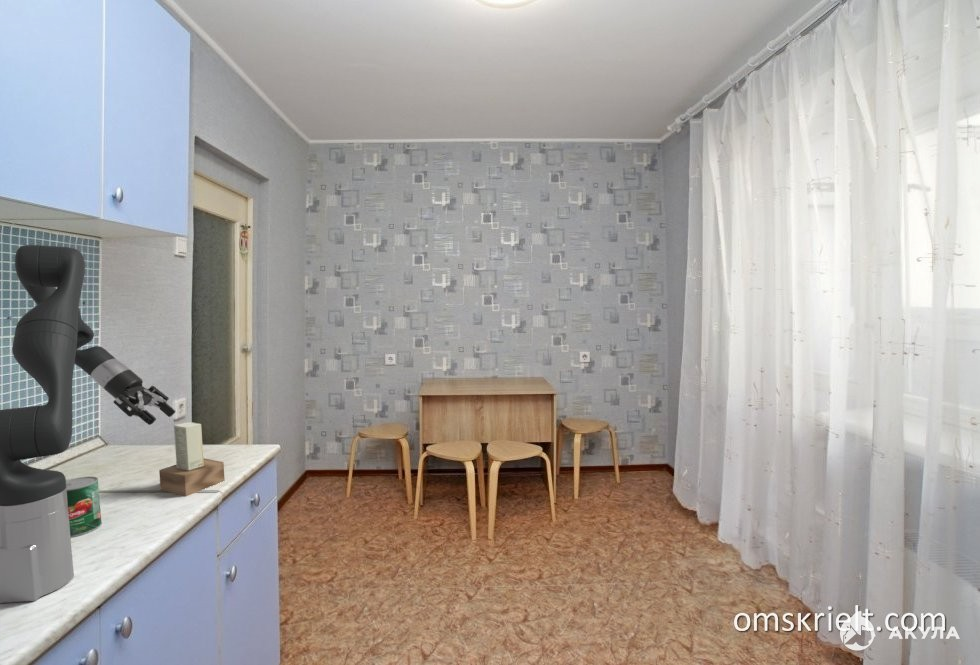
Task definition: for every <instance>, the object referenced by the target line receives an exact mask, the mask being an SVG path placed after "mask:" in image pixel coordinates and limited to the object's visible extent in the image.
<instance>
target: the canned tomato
mask: <svg viewBox="0 0 980 665" xmlns="http://www.w3.org/2000/svg"><path fill="white" fill-rule="evenodd" d="M99 486H100V485H99V477H97V476H81V477H76V478H75V477H74V478H72V479H67V480H66V489H67V501H68V514H69V525H70V537H71V538H77V537H79V536H83V535H86V534H89V533H92V532H94V531H96V530H97V529H99V528H101V527H102V524H103V522H102V514H101V511H102V510H101V501H100V488H99Z"/></svg>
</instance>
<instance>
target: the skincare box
mask: <svg viewBox="0 0 980 665" xmlns="http://www.w3.org/2000/svg"><path fill="white" fill-rule="evenodd" d="M202 429H203V428H202V423H198V422H191V421H188V422H184V423H183V422H182V423H178V424H174V425H173V430H174V431H173V432H174V446H175V447H174V449H175V459H176V460H175V461H176V462H175V463H176V464H177V468H180V469H184V470H188V471H189V470H193V469H196V468H199V467H202V466H204V460H203V458H204V448H203V447H204V446H203V433H202ZM176 464H175V465H176Z"/></svg>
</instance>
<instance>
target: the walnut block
mask: <svg viewBox="0 0 980 665" xmlns="http://www.w3.org/2000/svg"><path fill="white" fill-rule="evenodd" d="M203 460H204V466H202V467H199V468H196V469H193V470H189V471H188V470H184V469H180V468H177V464H174V465H170V466H168V467H164V468H161V469H159V472H158V473H159V487H160V489H159V490H160V491H164V492H166V493H167V492H168V493H171V494H175V495H178V496H183V497H188V496H191V495H193V494H196V493H198V492H201V491H203V490H206V489H209V488H211V487H213V485H214V486H216V485H219V484H221V483H223V481H224V482H225V466H224V465H225V463H224V461H219V460H215V459H210V458H205V457H203ZM220 482H221V483H220ZM218 483H219V484H218ZM210 486H211V487H210ZM205 488H206V489H205Z"/></svg>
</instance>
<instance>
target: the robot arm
mask: <svg viewBox="0 0 980 665" xmlns="http://www.w3.org/2000/svg"><path fill="white" fill-rule="evenodd" d="M14 266H15V267H14V268H15V273H16V276H17V278H18V280H19V282H20V283H21V285H22V286H23V288H24V289H25V291H26V292H27V293H28V295H29V296H30V298H31V299H32V300H33V301H34V303H35V304H36V305H34V307H33V308H30V310H29V311H27V312H25V314H24V315H23V316H21V318H20V319H19V320H18V322H17V323H16V326H15V330H14V336H13V342H12V350H11V352H12V356H13V357H14V359H15V360H16V362H17V363H18V365H19V366H20V367H21V368H22V369H23V370H24V371H25V372H26V373H27V374H28V375H30V377H32V379H34V381H36V382H37V384H39V386H40V387H41V389H42V390H43V391H44V393H45V394H46V395H47V399H48V400H47V403H46V404H43V405H41V404H40V405H33V406H23V407H13V408H5V409H4V408H3V409H0V604H3V603H5V604H6V603H19V602H20V603H21V602H22V603H23V602H33V601H34V602H35V601H37V600H38V599H40V598H41V597H43V596H45V595H48V594H50V593H53V592H55V591H57V590H58V589H60V588H62V587H64V586H65V585H67V584H68V583H69V582H70V581H71V580H73V578H74V575H75V574H74V560H73V550H72V541H71V538H72V537H70V525H69V514H68V501H67V489H66V479H67V478H66V476H65V474H64V473H63V472H61V471H58V470H52V469H44V468H43V469H42V468H36V467H33V466H29V465H28V464H25V463H24V462H22V461H23V460H30V459H35V458H41V457H49V456H55V455H58V454H62V453H64V452H65V451H67V449H68V448H69V446H70V444H71V442H72V435H73V381H74V380H73V377H74V370H75V366H77V367H79V368H80V369H81V370H82V371H84V372H85V373H86V374H87V375H88V376H90V377H91V378H92V379H93V380H94V381H95V383H96V384H97V385H98V386H100V387H101V388H102V389H104V391H106V392H107V393H109V394H110V396H112V397H113V398H114V400H113V404H114V405H116V406H117V407H118V409H119V410H121V411H122V412H123V413H125V415H126V416H128V417H133V416H134V417H136V418H137V417H139V418H140V419H141V420H142V421H143V422H145V423H146V424H148V425H153V423H155V422H156V421H157V418H156V417H155V416H154V415H153V414H152V413H150V412H149V411H148V410H147V409H145V406H149V407H155V408H158V409H159V410H160V411H161V412H162V413H164V415H166V416H167V417H169V418H170V417H172V416H173V415H174V414H175V413H176V410H175V409H174V408H173V407H171V406H170V405H169V404H168V401H169V399H170V398H169V397H168V396H167V395H165V394H164V393H163V391H160V389H158V388H157V387H156V386H154V385H151V386H150V387H148V388H147V387H144V386H143V379H142V378H141V376H139V375H137V373H135V372H134V371H132V369H130V368H129V367H128V366H127V365H126V364H124V362H121V361H120V360H119V359H117V358H116V357H115V356H114V355H112V354H111V353H110V352H109V351H107V349H105V348H104V347H103V346H100V345H99V346H97V345H96V346H91V347H88V348H86V349H85V348H83V349H80V348H82V347H84V346H86V345H88V344H89V343H91V342H92V341H93V339H94V337H95V333H94V330H93V329H92V328H91V327H90V326H89V325H88V324H87V323H86V322H85V321H84V320H83V318H82V315H81V310H80V308H79V307H80V300H81V295H82V290H83V286H84V285H83V284H84V280H85V273H86V272H85V271H86V264H85V259H84V256H83V253H82V252H81V251H80V250H79V249H77V248H74V247H69V246H68V247H67V246H59V245H58V246H56V245H41V244H25V245H21V246H19V247H18V248H17V249H16V252H15V256H14ZM129 409H130V410H129Z"/></svg>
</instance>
